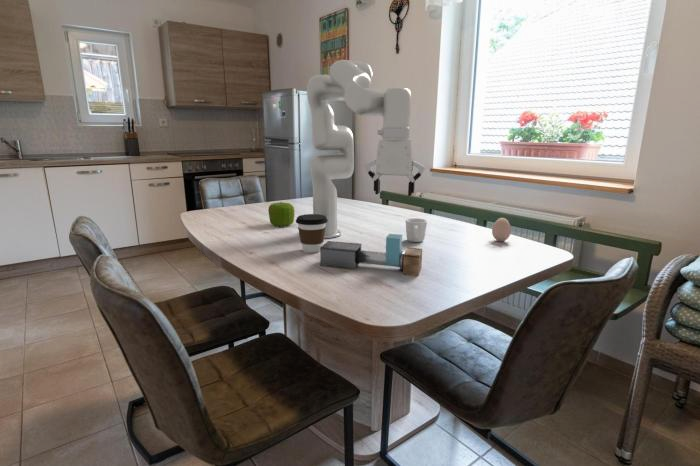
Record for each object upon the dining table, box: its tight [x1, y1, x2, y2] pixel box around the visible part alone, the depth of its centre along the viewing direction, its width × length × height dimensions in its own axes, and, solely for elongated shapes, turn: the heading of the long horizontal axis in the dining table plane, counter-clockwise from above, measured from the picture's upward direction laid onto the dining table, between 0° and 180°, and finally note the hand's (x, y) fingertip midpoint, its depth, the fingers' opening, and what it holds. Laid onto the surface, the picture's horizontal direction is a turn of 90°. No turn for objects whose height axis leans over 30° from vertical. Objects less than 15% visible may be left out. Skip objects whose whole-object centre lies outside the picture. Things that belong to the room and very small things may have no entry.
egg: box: [491, 217, 512, 243], centre depth 151 cm, size 7×7×9 cm
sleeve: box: [319, 240, 362, 270], centre depth 125 cm, size 11×8×6 cm
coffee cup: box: [295, 213, 328, 254], centre depth 138 cm, size 11×11×12 cm
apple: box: [267, 201, 295, 228], centre depth 175 cm, size 11×11×11 cm
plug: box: [356, 233, 406, 271], centre depth 120 cm, size 19×6×10 cm, turn 74°
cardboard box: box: [402, 247, 423, 277], centre depth 119 cm, size 4×8×6 cm, turn 164°
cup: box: [405, 217, 428, 243], centre depth 150 cm, size 11×8×8 cm
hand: (393, 194), depth 117 cm, fingers open, 9 cm apart
